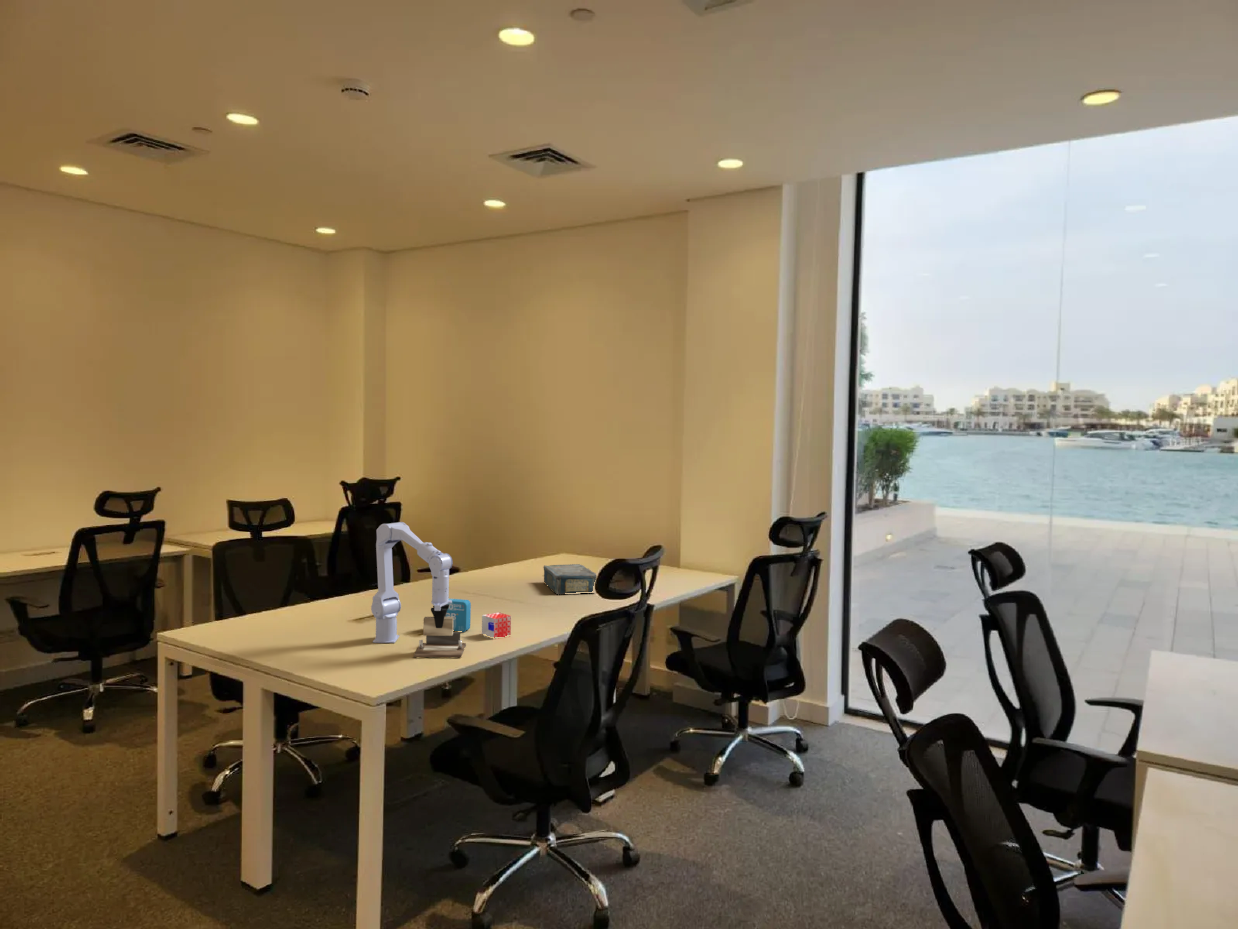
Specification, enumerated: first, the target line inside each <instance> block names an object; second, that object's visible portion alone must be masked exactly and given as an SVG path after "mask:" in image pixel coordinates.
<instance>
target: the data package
mask: <svg viewBox="0 0 1238 929" xmlns="http://www.w3.org/2000/svg"><path fill="white" fill-rule="evenodd" d="M449 600H452V603H448V604H449V608H448V610H447V613H446V617H453V630H454V631H462V632H461V633H465V632H467V631H468V630H470V629H471V616H472V614H471V613H472V612H471V611H472V610H471V608H472V605H471V601H470V600H469V599H461V598H449ZM466 630H467V631H466Z"/></svg>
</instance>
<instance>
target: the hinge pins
mask: <svg viewBox="0 0 1238 929" xmlns="http://www.w3.org/2000/svg"><path fill="white" fill-rule="evenodd" d="M462 641H463V640H462V639H460V640H458V649H462V643H463V642H462ZM423 643H424V641H423V639H419V644H418V645H419V646H418V647H419V649H423Z"/></svg>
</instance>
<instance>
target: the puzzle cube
mask: <svg viewBox="0 0 1238 929" xmlns="http://www.w3.org/2000/svg"><path fill="white" fill-rule="evenodd" d="M482 634H486V635H487V636H490V637H494V638H495V637H504V638H506V637H505V636H507V635H512V615H511V614H506V613H501V612H499V611H498V612H493V613H486V614H482V616H481V635H482Z"/></svg>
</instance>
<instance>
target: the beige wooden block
mask: <svg viewBox="0 0 1238 929" xmlns="http://www.w3.org/2000/svg"><path fill="white" fill-rule="evenodd" d="M422 627H423V634H422V635H423V636H452V635H453V617H444V622H443V627H442V628H436V626H435V620H434V616H424V617H423V626H422Z"/></svg>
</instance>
